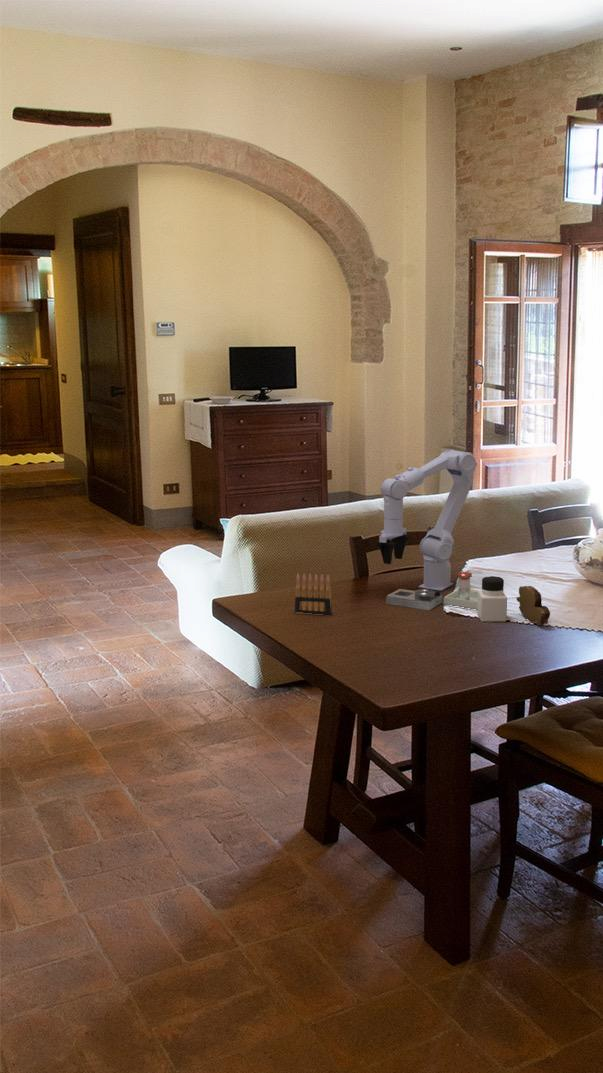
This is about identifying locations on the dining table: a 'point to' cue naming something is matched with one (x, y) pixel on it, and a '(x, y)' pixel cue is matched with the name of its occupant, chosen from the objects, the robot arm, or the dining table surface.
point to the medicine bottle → (492, 600)
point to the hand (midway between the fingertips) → (392, 561)
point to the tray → (454, 601)
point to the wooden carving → (532, 605)
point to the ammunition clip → (313, 596)
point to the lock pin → (464, 585)
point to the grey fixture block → (415, 598)
